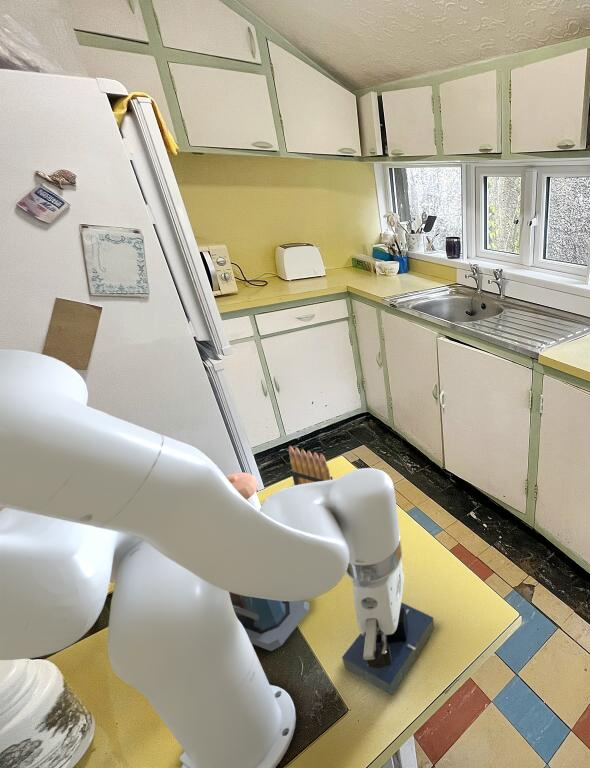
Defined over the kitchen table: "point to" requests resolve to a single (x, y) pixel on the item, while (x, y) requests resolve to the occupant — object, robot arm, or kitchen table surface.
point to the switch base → (392, 653)
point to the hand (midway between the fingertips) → (386, 631)
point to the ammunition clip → (308, 467)
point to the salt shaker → (246, 487)
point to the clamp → (268, 618)
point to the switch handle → (397, 630)
